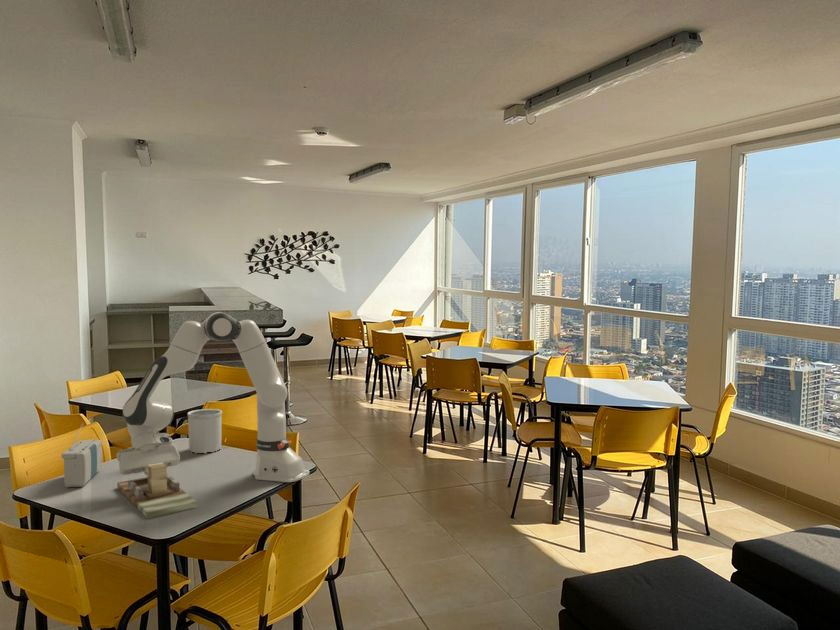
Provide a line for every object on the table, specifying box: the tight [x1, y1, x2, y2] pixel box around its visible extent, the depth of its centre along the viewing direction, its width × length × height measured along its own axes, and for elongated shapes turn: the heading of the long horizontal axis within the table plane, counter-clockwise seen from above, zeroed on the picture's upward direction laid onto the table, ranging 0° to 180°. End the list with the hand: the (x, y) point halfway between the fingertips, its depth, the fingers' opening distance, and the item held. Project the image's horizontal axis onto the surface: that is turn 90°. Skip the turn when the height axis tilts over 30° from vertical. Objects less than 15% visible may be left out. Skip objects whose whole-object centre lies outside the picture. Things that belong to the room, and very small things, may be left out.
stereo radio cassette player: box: [61, 423, 103, 488], centre depth 232 cm, size 21×8×20 cm, turn 12°
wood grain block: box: [143, 463, 173, 498], centre depth 213 cm, size 8×8×10 cm
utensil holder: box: [187, 408, 223, 454], centre depth 275 cm, size 15×15×18 cm
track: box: [116, 473, 198, 519], centre depth 214 cm, size 37×16×5 cm, turn 40°
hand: (154, 479), depth 215 cm, fingers closed, pressing on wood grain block
